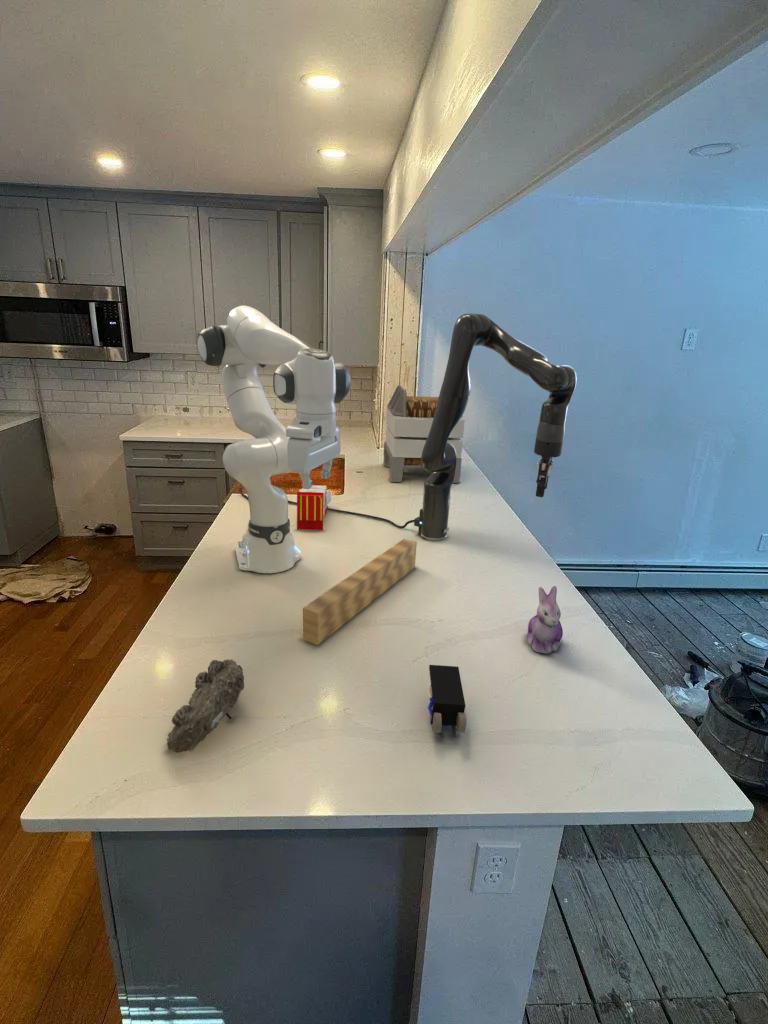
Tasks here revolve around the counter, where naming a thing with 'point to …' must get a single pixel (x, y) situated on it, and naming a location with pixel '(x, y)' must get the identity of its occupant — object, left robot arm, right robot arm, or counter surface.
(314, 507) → the toy
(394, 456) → the grey slatted crate
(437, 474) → the right robot arm
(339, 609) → the post
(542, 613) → the figurine
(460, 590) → the counter surface
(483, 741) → the counter surface
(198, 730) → the fossil
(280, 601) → the counter surface
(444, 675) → the black wheeled block
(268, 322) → the left robot arm
